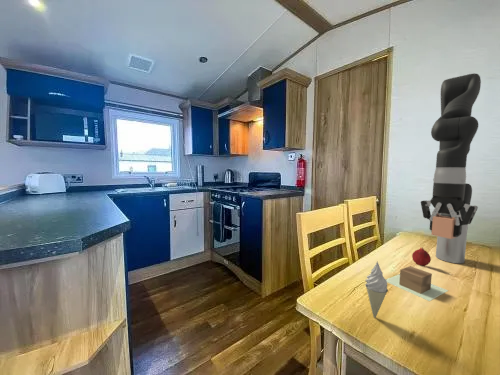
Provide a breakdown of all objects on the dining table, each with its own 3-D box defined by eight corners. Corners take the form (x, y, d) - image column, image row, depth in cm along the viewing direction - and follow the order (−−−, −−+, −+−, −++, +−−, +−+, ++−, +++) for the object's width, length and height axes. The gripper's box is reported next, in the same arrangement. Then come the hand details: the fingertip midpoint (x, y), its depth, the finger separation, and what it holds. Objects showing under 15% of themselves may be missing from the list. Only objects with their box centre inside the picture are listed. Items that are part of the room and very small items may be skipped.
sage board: (402, 275, 79) (402, 272, 79) (448, 294, 68) (448, 290, 67) (383, 283, 73) (383, 280, 73) (429, 305, 62) (429, 301, 62)
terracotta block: (438, 232, 74) (439, 215, 73) (457, 236, 69) (459, 218, 69) (431, 234, 71) (432, 216, 71) (451, 238, 67) (452, 219, 67)
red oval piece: (433, 270, 83) (435, 250, 83) (416, 269, 85) (417, 249, 84) (424, 264, 89) (426, 245, 88) (408, 262, 90) (410, 244, 90)
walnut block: (409, 280, 73) (410, 266, 73) (430, 289, 68) (431, 273, 68) (399, 284, 71) (400, 269, 70) (420, 293, 65) (422, 277, 65)
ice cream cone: (359, 311, 59) (362, 257, 58) (377, 310, 59) (380, 257, 58) (371, 324, 54) (375, 265, 53) (390, 323, 54) (394, 265, 53)
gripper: (485, 183, 65) (479, 239, 66) (427, 180, 77) (424, 227, 79) (475, 183, 61) (469, 242, 62) (417, 181, 74) (413, 230, 75)
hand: (444, 234), depth 70 cm, fingers closed on terracotta block, 5 cm apart
